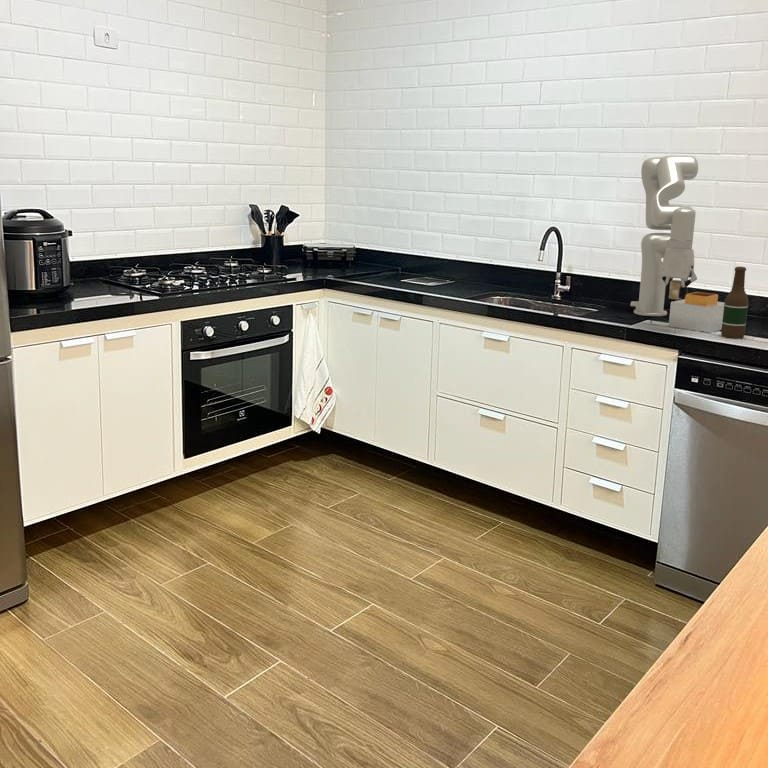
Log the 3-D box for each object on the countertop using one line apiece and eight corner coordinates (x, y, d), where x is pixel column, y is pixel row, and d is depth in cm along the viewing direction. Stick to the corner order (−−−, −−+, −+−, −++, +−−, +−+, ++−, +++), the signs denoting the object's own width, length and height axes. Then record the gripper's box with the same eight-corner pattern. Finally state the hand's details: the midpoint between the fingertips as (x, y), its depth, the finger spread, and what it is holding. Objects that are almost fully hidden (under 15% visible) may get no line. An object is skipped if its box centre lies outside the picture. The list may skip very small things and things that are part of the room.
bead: (666, 298, 295) (667, 281, 293) (672, 296, 297) (674, 279, 296) (677, 299, 291) (679, 282, 290) (684, 298, 294) (685, 281, 293)
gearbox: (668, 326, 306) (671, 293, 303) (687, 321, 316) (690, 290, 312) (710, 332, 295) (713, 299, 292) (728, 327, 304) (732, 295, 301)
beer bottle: (747, 339, 285) (755, 268, 279) (723, 338, 286) (731, 268, 280) (741, 334, 292) (750, 265, 286) (718, 333, 294) (726, 265, 288)
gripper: (653, 243, 293) (648, 294, 298) (698, 248, 281) (692, 301, 286) (664, 241, 297) (659, 292, 303) (709, 246, 286) (703, 299, 291)
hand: (675, 296), depth 294 cm, fingers closed on bead, 4 cm apart
